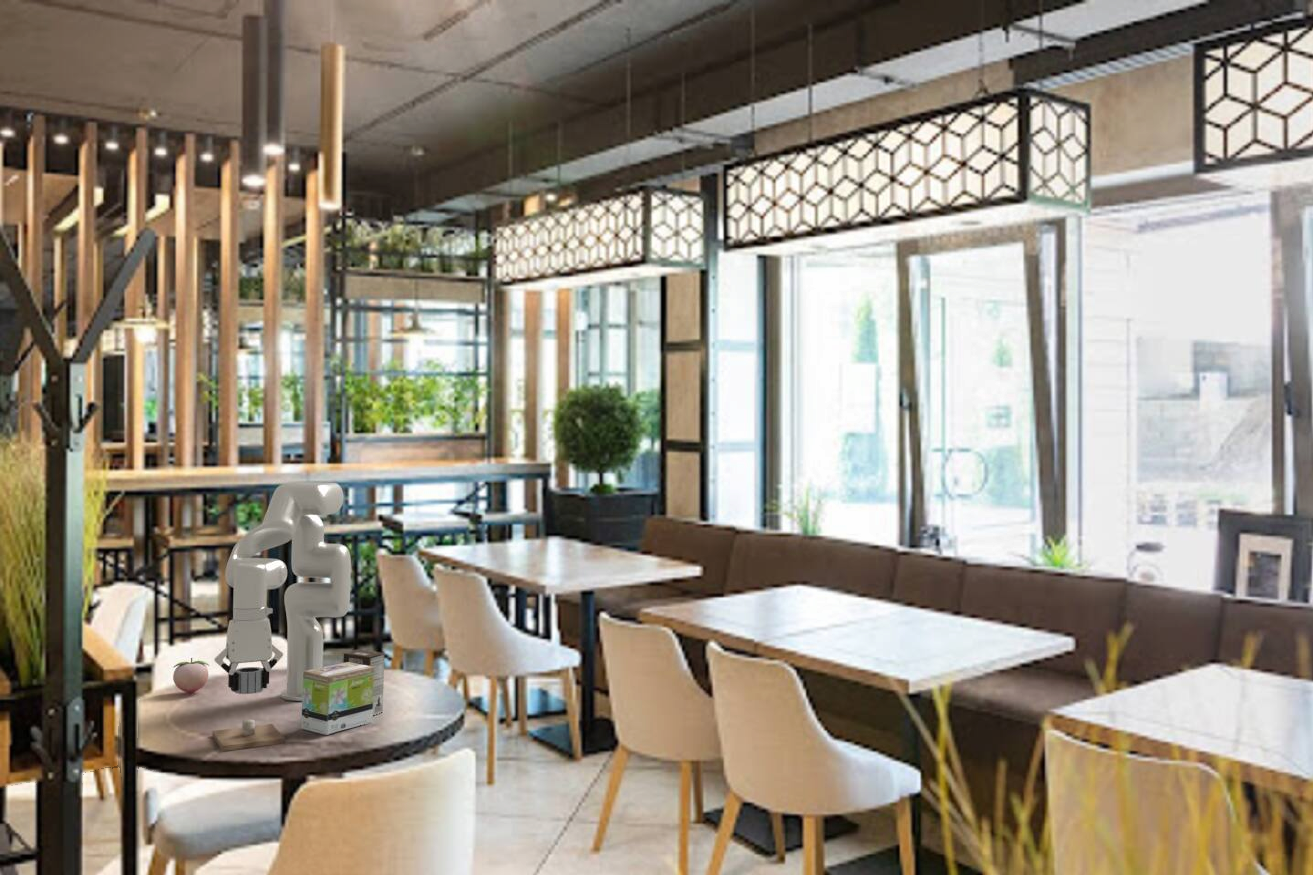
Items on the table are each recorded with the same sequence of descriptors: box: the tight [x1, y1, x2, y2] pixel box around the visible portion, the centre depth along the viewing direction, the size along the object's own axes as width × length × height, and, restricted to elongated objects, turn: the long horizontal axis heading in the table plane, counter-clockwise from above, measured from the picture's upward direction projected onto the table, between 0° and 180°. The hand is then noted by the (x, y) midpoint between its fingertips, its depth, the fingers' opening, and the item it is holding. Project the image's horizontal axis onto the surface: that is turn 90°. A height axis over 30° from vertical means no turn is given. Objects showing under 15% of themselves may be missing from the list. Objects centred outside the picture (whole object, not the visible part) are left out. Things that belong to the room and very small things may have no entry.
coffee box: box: [342, 648, 385, 716], centre depth 293 cm, size 9×6×16 cm
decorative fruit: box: [172, 657, 210, 695], centre depth 309 cm, size 9×8×10 cm
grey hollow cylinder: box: [234, 666, 264, 695], centre depth 267 cm, size 6×6×5 cm
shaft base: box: [211, 719, 286, 752], centre depth 268 cm, size 14×14×4 cm
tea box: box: [300, 662, 374, 736], centre depth 281 cm, size 15×10×15 cm
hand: (248, 688), depth 267 cm, fingers closed on grey hollow cylinder, 6 cm apart
